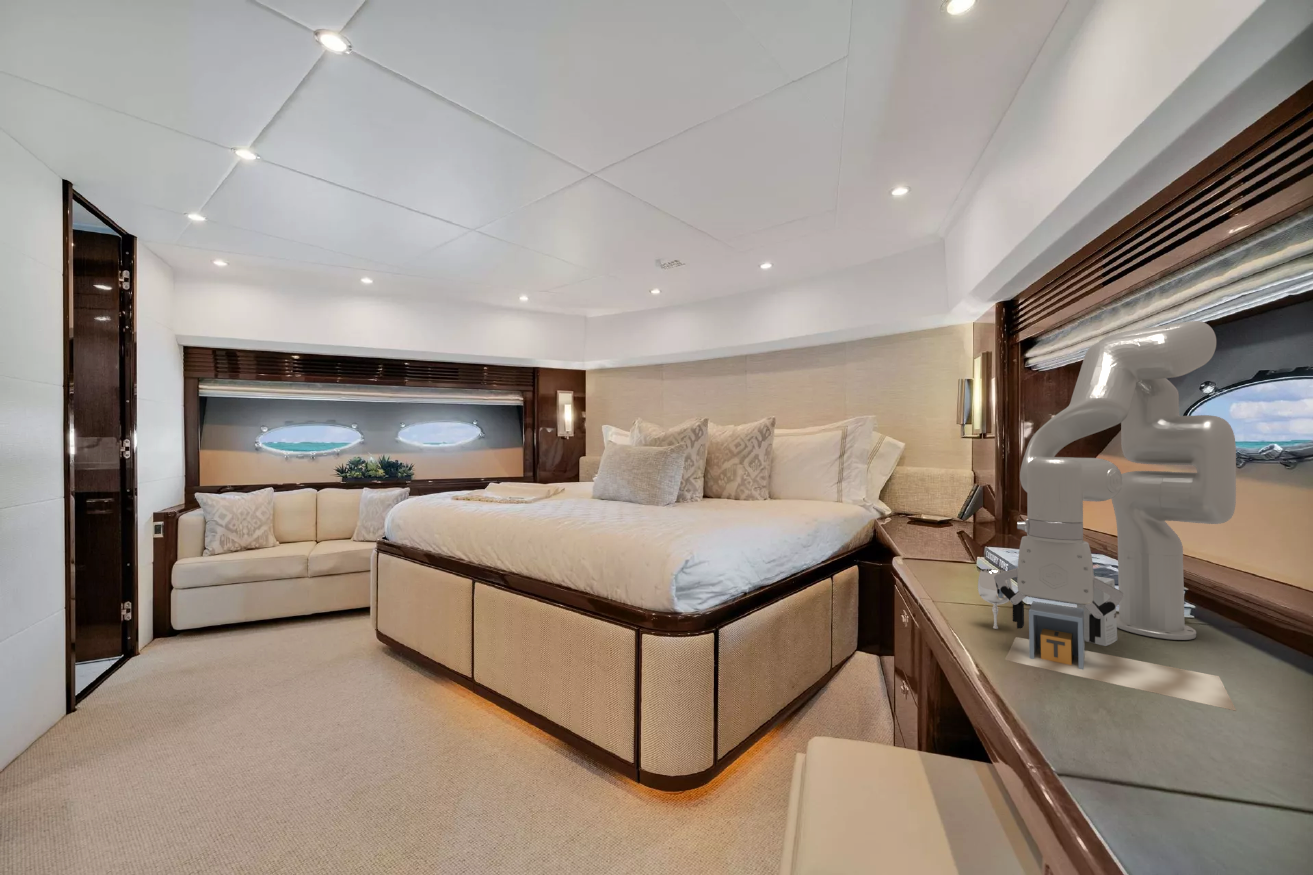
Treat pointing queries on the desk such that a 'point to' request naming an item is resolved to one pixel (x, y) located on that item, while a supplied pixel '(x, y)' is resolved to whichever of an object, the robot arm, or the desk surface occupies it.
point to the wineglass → (992, 590)
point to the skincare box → (1106, 621)
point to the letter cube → (1056, 646)
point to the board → (1133, 675)
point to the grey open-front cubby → (1057, 626)
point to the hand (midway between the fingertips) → (1055, 633)
